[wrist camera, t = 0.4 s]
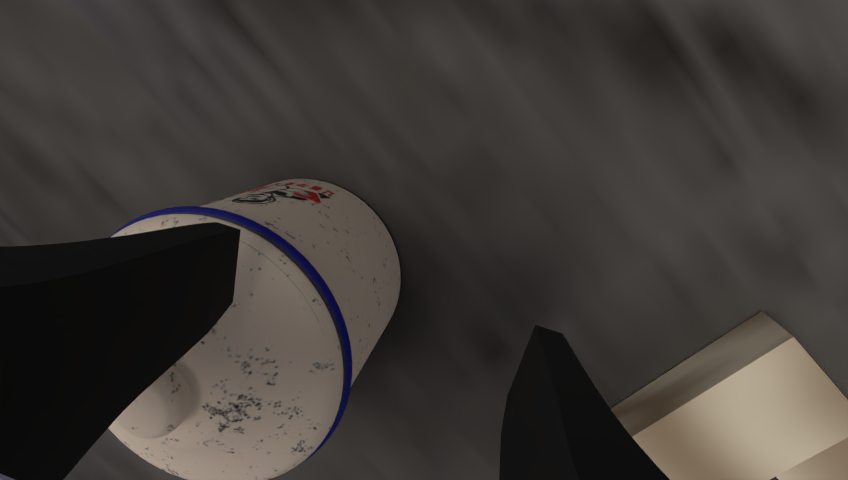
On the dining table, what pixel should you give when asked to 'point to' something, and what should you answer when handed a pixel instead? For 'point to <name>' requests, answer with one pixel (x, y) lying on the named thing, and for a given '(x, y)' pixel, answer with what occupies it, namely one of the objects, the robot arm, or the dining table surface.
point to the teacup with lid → (271, 335)
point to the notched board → (743, 412)
